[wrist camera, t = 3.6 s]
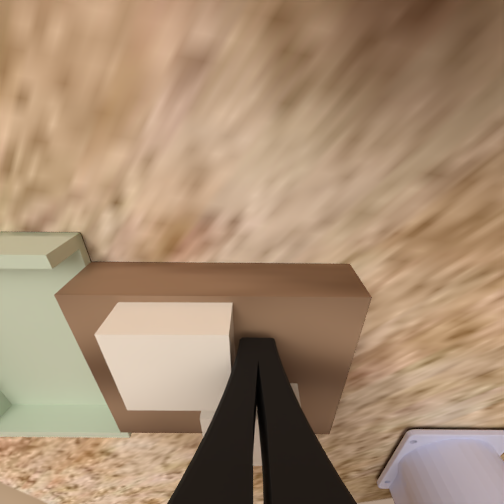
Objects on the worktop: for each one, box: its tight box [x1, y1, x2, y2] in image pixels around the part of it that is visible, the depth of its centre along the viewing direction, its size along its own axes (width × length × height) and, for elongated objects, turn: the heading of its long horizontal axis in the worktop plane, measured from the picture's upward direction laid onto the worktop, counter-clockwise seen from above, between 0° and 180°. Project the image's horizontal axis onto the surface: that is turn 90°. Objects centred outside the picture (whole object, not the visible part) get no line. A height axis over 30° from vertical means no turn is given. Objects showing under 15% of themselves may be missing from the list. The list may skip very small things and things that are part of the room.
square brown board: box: [54, 262, 372, 434], centre depth 13 cm, size 10×12×2 cm
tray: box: [0, 232, 131, 438], centre depth 13 cm, size 13×9×2 cm
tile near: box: [94, 302, 235, 411], centre depth 10 cm, size 4×4×2 cm
